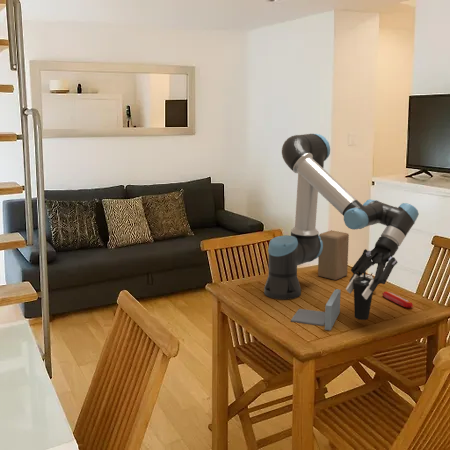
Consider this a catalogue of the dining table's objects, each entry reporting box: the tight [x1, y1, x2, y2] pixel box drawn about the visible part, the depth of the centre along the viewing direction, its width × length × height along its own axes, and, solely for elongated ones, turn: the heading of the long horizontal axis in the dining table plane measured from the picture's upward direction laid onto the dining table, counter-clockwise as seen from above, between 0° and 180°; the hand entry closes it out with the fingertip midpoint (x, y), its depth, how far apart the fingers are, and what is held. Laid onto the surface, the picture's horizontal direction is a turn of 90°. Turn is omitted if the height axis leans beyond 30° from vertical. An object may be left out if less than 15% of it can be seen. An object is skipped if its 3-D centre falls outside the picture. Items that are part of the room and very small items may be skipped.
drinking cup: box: [353, 263, 374, 321], centre depth 196 cm, size 8×8×20 cm
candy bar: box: [381, 291, 414, 309], centre depth 220 cm, size 16×4×3 cm, turn 22°
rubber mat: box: [290, 308, 325, 327], centre depth 206 cm, size 12×12×1 cm
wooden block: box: [317, 229, 350, 281], centre depth 251 cm, size 10×10×20 cm
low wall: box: [324, 288, 342, 331], centre depth 202 cm, size 2×18×9 cm, turn 158°
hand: (356, 294), depth 194 cm, fingers closed on drinking cup, 7 cm apart
